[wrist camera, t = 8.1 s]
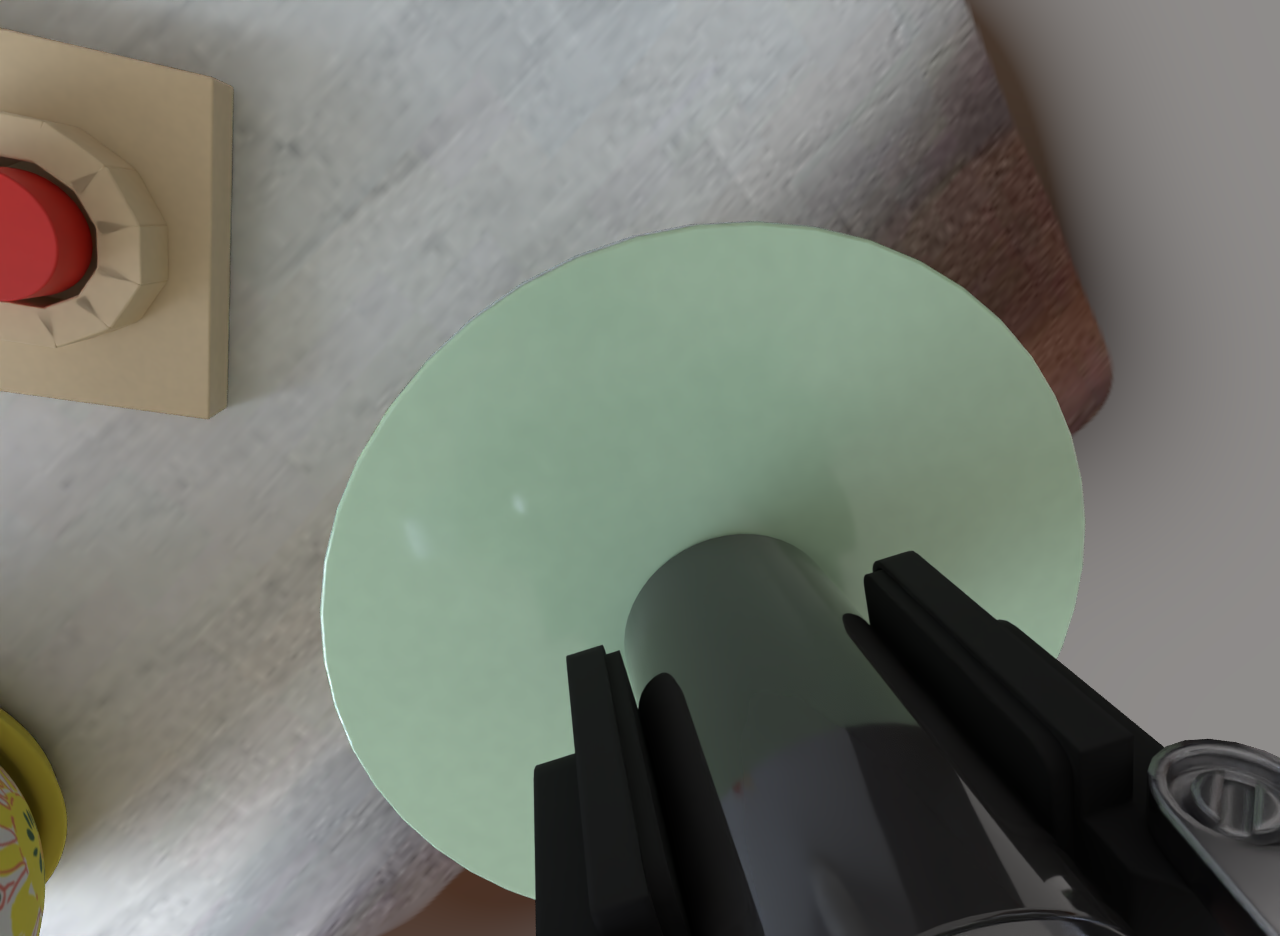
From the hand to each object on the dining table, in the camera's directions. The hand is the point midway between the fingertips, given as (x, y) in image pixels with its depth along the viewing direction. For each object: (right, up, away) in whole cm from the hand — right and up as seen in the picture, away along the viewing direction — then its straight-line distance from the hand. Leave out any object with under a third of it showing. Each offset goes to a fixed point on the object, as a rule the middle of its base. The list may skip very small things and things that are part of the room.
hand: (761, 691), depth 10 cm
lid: (0, +1, +2) cm, 2 cm away
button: (-20, +10, +11) cm, 25 cm away
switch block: (-20, +11, +14) cm, 27 cm away
